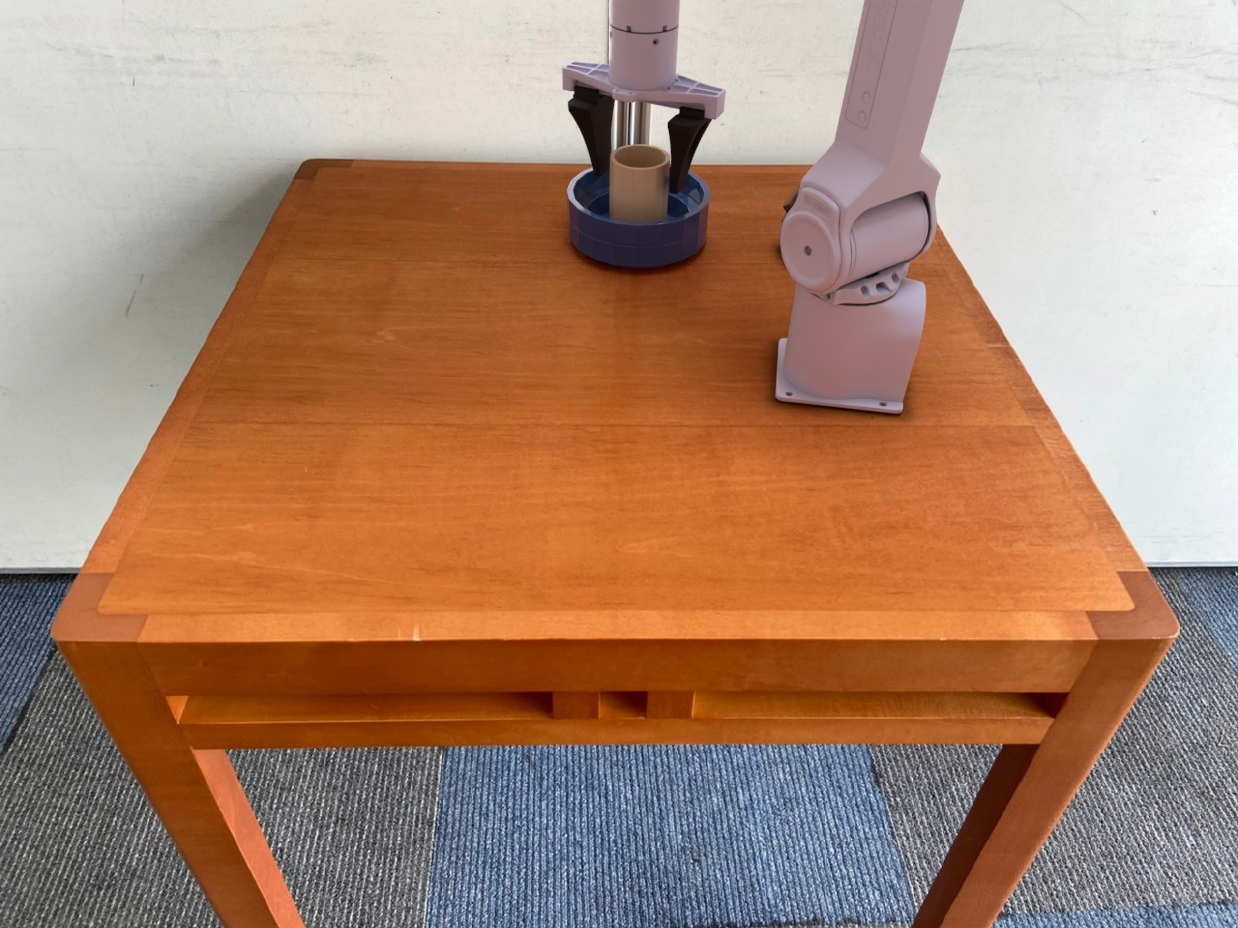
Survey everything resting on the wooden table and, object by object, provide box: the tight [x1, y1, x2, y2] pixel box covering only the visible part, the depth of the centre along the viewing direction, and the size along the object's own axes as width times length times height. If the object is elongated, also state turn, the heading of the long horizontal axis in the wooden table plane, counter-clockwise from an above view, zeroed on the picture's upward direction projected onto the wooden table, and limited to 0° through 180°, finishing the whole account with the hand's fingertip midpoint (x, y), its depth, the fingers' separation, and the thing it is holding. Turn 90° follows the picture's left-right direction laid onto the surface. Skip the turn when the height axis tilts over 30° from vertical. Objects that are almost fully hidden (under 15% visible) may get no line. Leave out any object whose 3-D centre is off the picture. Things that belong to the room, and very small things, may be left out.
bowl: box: [566, 164, 712, 269], centre depth 85 cm, size 13×13×5 cm
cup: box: [609, 143, 671, 222], centre depth 84 cm, size 5×5×8 cm
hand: (639, 180), depth 83 cm, fingers open, 7 cm apart
